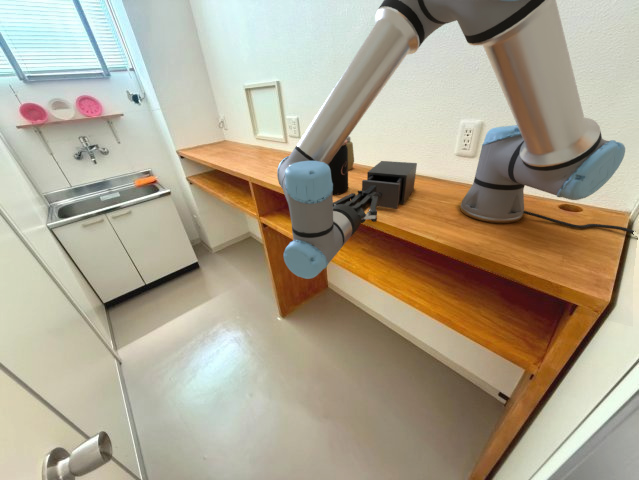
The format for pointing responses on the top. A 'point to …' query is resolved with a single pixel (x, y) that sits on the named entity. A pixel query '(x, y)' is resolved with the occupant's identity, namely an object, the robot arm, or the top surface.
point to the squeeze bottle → (350, 153)
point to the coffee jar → (340, 170)
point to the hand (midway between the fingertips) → (373, 189)
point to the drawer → (386, 189)
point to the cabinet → (397, 175)
